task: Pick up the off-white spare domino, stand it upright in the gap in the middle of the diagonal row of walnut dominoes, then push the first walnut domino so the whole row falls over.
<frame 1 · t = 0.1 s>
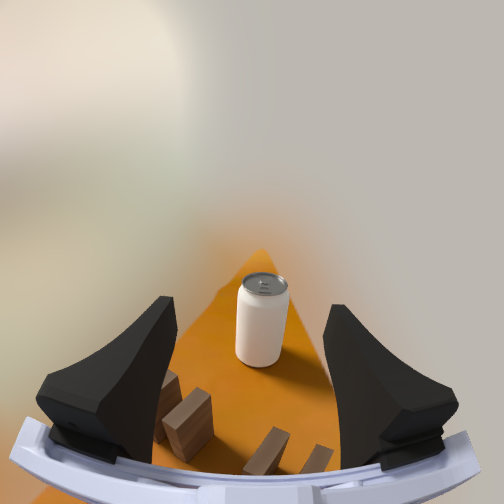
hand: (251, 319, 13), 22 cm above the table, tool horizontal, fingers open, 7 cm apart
domino 4: (194, 445, 25), on the table
can: (257, 354, 40), on the table
domino 2: (259, 480, 21), on the table
domino 1: (294, 495, 20), on the table
domino 5: (167, 426, 27), on the table
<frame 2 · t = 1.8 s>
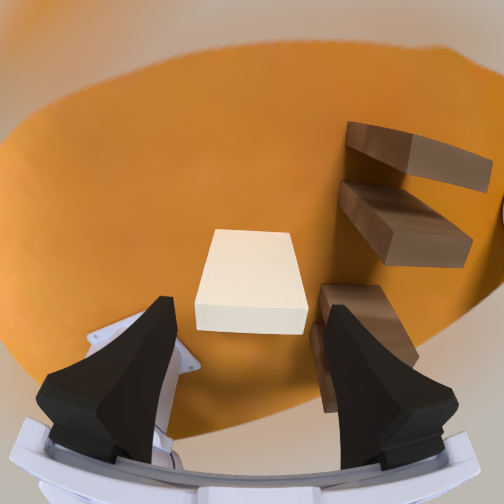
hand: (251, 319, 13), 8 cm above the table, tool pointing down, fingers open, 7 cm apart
domino 4: (372, 196, 18), on the table
domino 2: (349, 292, 22), on the table
spare domino: (251, 241, 20), on the table
domino 1: (338, 329, 24), on the table
domino 5: (381, 139, 16), on the table
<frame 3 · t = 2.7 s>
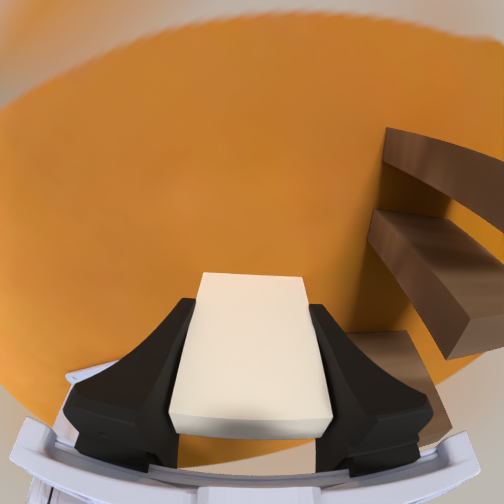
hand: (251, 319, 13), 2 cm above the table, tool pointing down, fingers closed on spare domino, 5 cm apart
domino 4: (411, 228, 13), on the table
domino 2: (371, 341, 17), on the table
spare domino: (252, 287, 15), on the table, touching gripper
domino 5: (427, 154, 11), on the table
when the fingers open (3 cm above the table, at t = 6.8 s): spare domino drops 1 cm, on the table.
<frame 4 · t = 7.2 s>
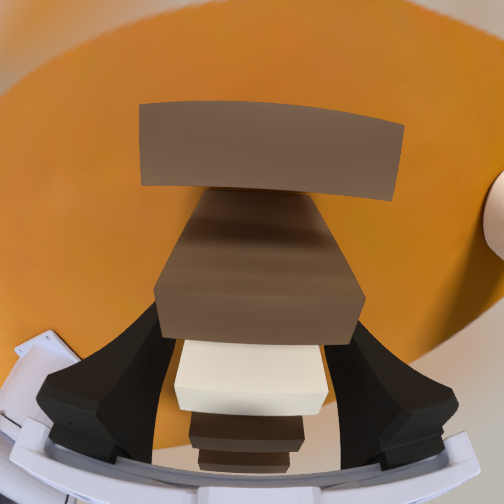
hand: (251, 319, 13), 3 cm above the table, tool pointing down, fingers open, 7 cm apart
domino 4: (256, 207, 14), on the table
domino 2: (248, 329, 18), on the table
spare domino: (252, 276, 16), on the table
domino 1: (246, 368, 19), on the table
domino 5: (262, 125, 12), on the table
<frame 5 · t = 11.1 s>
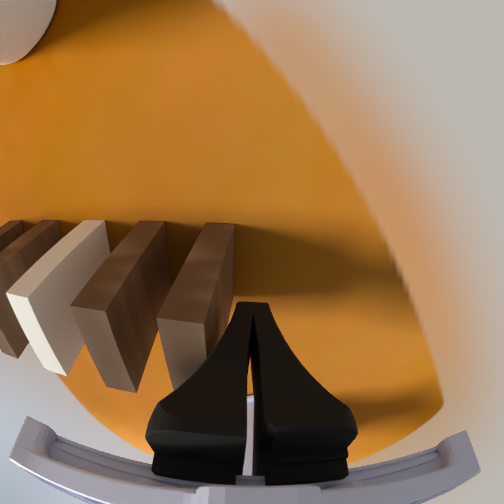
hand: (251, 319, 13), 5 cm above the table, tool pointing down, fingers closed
domino 4: (57, 252, 17), on the table
can: (27, 22, 9), on the table
domino 2: (156, 258, 17), on the table
spare domino: (100, 255, 17), on the table
domino 1: (220, 262, 17), on the table, touching gripper
domino 5: (23, 250, 17), on the table
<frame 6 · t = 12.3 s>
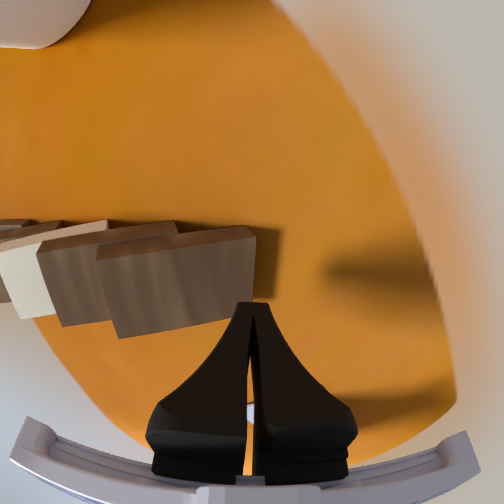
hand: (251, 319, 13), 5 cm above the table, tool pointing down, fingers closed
domino 4: (66, 259, 16), point 1 cm above the table, tilted 74°, touching spare domino
can: (58, 6, 9), on the table
domino 2: (178, 265, 16), point 1 cm above the table, tilted 66°, touching spare domino
spare domino: (114, 261, 16), point 1 cm above the table, tilted 66°, touching domino 2, domino 4
domino 1: (248, 270, 16), point 1 cm above the table, tilted 66°
domino 5: (35, 251, 16), on the table, tilted 90°
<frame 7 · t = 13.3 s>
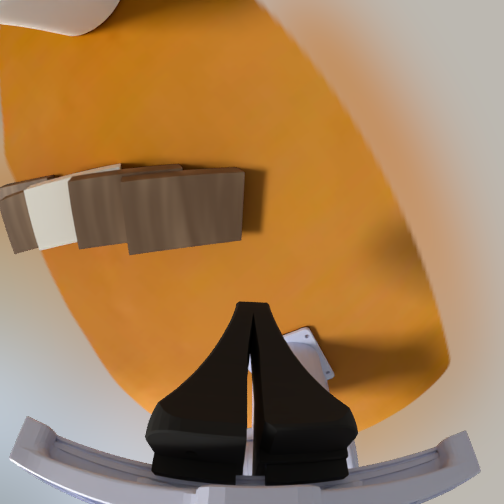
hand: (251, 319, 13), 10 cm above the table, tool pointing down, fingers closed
domino 4: (82, 203, 20), point 1 cm above the table, tilted 71°, touching domino 5, spare domino
can: (91, 3, 12), on the table
domino 2: (181, 199, 20), point 1 cm above the table, tilted 68°, touching domino 1
spare domino: (124, 196, 20), point 1 cm above the table, tilted 68°, touching domino 4
domino 1: (238, 203, 20), point 1 cm above the table, tilted 68°, touching domino 2
domino 5: (57, 202, 20), on the table, tilted 90°, touching domino 4
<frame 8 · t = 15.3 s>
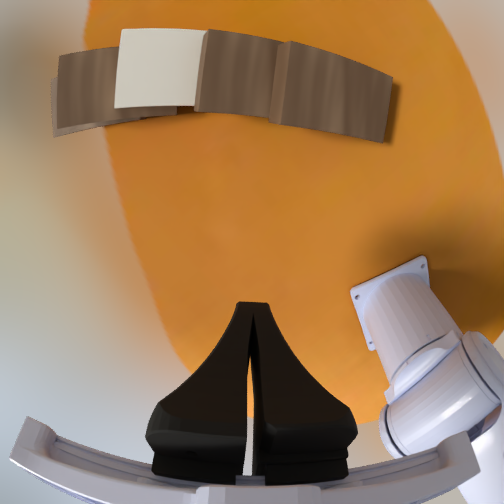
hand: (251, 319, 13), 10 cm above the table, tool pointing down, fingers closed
domino 4: (176, 80, 16), point 1 cm above the table, tilted 66°, touching spare domino
domino 2: (321, 90, 16), point 1 cm above the table, tilted 69°, touching domino 1
spare domino: (243, 72, 16), point 1 cm above the table, tilted 66°, touching domino 4
domino 1: (380, 108, 16), point 1 cm above the table, tilted 69°, touching domino 2
domino 5: (143, 86, 16), on the table, tilted 90°
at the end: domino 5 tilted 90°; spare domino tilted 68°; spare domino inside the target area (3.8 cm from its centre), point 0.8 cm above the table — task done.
